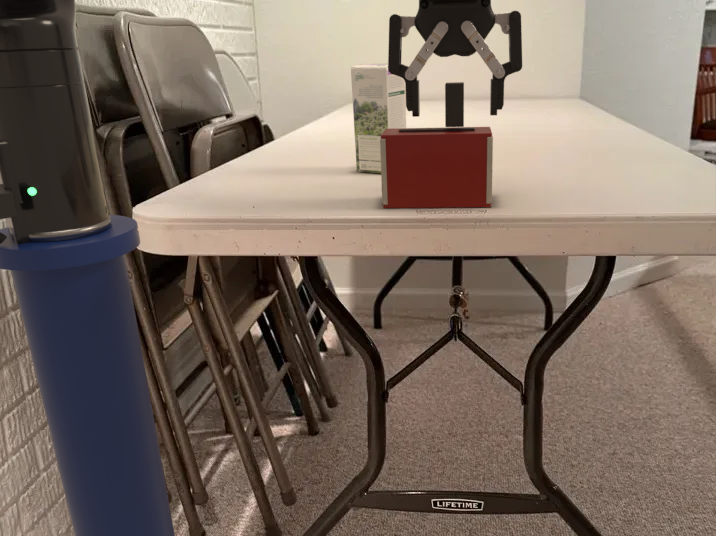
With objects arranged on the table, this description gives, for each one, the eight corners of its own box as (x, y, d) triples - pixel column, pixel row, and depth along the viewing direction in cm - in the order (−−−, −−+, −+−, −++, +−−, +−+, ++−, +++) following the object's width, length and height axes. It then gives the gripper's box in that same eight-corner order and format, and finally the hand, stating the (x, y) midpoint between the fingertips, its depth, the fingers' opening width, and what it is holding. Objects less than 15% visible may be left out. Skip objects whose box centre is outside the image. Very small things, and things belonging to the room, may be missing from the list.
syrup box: (409, 168, 105) (406, 62, 100) (389, 175, 100) (385, 64, 95) (375, 166, 108) (371, 63, 102) (354, 172, 103) (349, 65, 97)
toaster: (382, 208, 81) (379, 133, 78) (387, 197, 86) (385, 126, 83) (491, 207, 80) (493, 131, 77) (489, 195, 85) (490, 124, 82)
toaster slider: (445, 127, 79) (445, 84, 77) (445, 124, 81) (445, 82, 79) (463, 126, 78) (463, 83, 77) (463, 124, 81) (463, 82, 79)
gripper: (381, -51, 70) (387, 120, 76) (528, -57, 69) (522, 117, 75) (388, -43, 77) (393, 113, 83) (522, -48, 76) (517, 111, 82)
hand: (454, 115), depth 79 cm, fingers open, 8 cm apart
